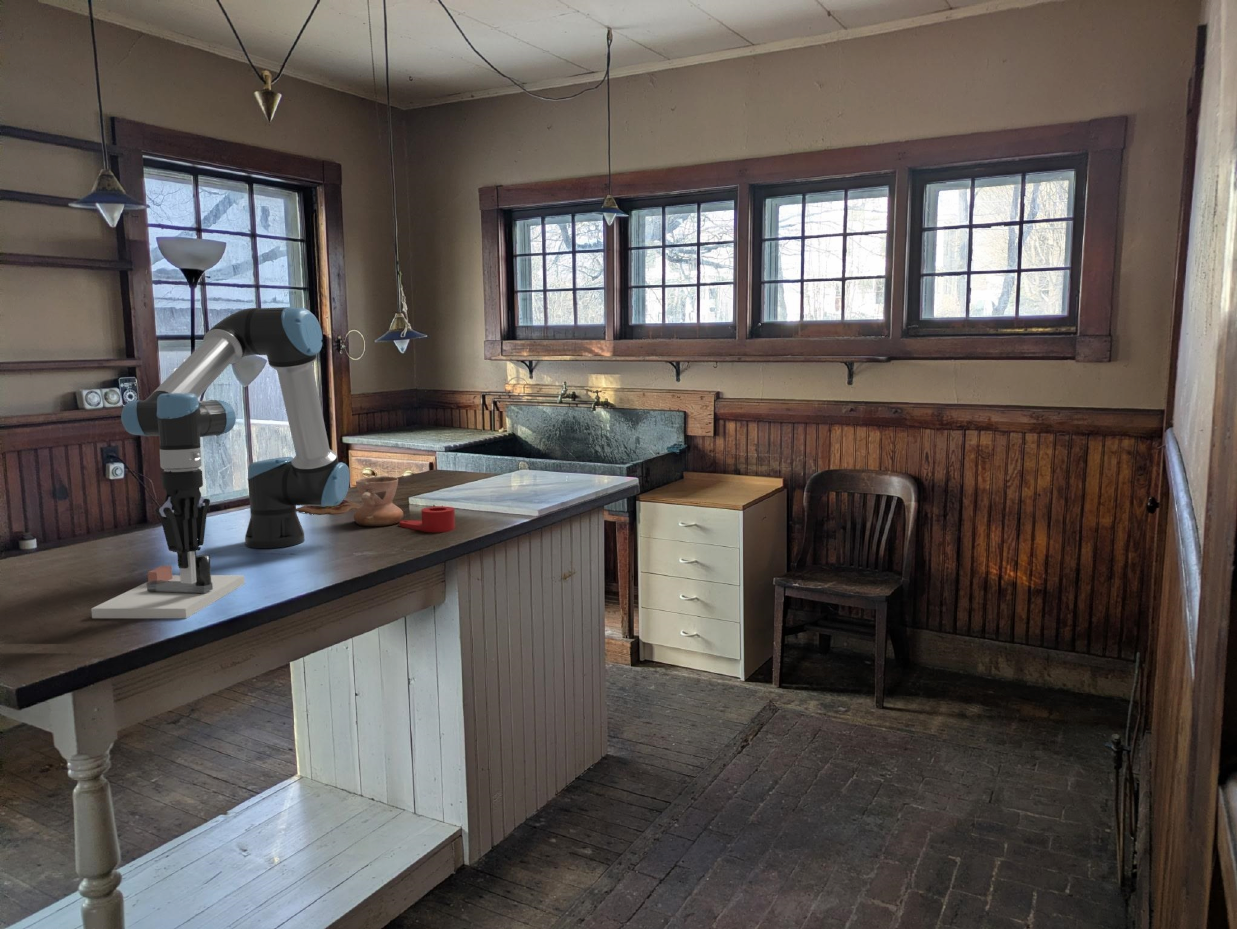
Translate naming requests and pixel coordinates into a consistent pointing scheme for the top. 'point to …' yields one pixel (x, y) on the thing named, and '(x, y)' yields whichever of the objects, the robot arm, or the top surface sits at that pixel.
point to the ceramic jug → (377, 502)
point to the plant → (330, 508)
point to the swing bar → (200, 586)
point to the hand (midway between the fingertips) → (188, 582)
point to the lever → (433, 520)
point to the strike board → (165, 598)
